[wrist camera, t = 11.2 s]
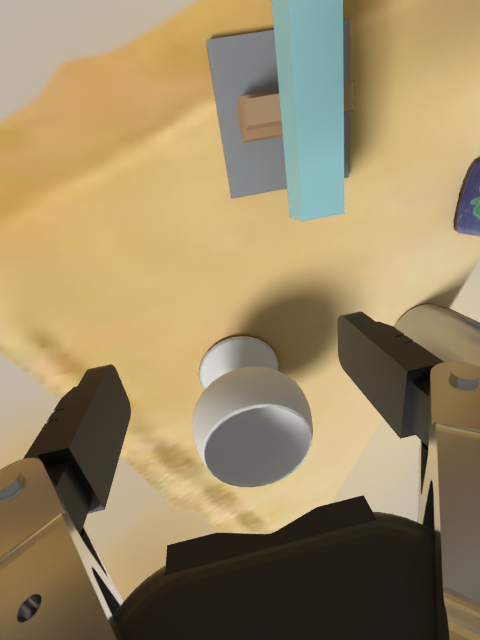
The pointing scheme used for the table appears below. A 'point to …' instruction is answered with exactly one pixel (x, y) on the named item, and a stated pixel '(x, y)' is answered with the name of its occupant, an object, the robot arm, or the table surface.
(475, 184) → the flask
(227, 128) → the fulcrum
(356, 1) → the table surface
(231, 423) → the chalice
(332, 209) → the batten
